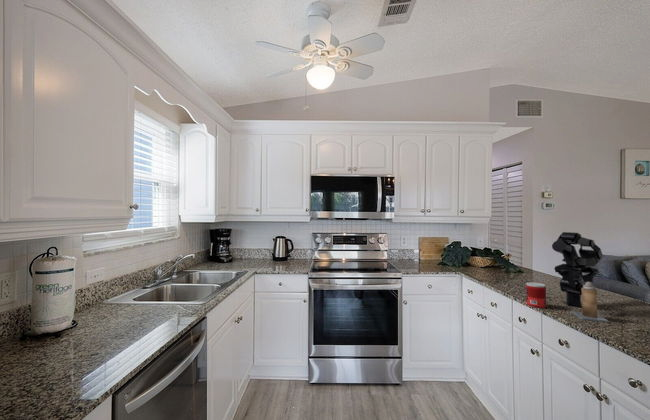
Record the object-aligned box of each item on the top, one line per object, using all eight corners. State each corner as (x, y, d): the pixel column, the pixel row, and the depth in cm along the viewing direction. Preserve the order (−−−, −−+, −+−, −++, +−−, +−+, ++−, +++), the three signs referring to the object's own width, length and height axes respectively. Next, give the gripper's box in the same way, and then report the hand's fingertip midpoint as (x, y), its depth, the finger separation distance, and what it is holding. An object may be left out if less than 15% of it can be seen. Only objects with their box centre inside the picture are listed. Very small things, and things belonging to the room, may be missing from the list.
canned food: (549, 308, 138) (549, 286, 138) (531, 307, 140) (530, 285, 140) (540, 303, 146) (540, 282, 146) (523, 302, 147) (523, 282, 147)
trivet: (572, 313, 132) (572, 311, 132) (597, 315, 129) (597, 313, 129) (582, 319, 124) (582, 318, 124) (608, 322, 120) (608, 320, 120)
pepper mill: (580, 313, 130) (579, 280, 130) (594, 314, 127) (593, 281, 128) (584, 316, 125) (583, 282, 125) (599, 318, 123) (598, 283, 123)
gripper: (569, 248, 132) (582, 281, 125) (603, 253, 135) (617, 285, 127) (549, 256, 142) (559, 287, 134) (580, 260, 144) (593, 291, 137)
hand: (582, 287), depth 133 cm, fingers open, 9 cm apart
